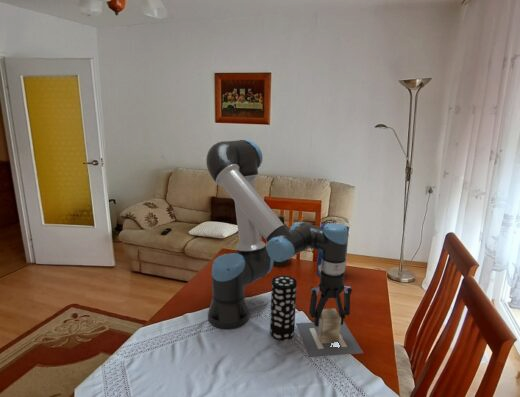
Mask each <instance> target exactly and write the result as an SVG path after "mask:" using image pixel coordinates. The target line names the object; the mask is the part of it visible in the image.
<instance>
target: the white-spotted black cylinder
mask: <svg viewBox="0 0 520 397" xmlns="http://www.w3.org/2000/svg"><path fill="white" fill-rule="evenodd" d="M297 282H298V281H297V279H296V278H294V277H292V276H289V275H277V276H275V277H272V279H271V292H270V293H271V294H270V295H271V296H270V297H271V298H270V323H269V324H270V325H269V327H270V328H269V333H270V336H271V337H272V338H273V339H275V340H277V341H285V342H286V341H290V340H291V339H292V338H294V335H295V327H296V326H295V325H296V305H297V304H296V303H297V285H298V284H297Z"/></svg>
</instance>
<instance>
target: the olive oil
mask: <svg viewBox="0 0 520 397" xmlns="http://www.w3.org/2000/svg"><path fill="white" fill-rule="evenodd" d="M277 217H278V218H279V219H280V221H281V222H282V223H283V224H284V225H285V227H286V228H287V229H288V230H290V227H288V225H286V224H285V215H277ZM289 263H290V259H287V260H285V261H282V262H276V261H274V260H273V267H279V268H280V267H283V268H284V267H286V266H288V265H289Z"/></svg>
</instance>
